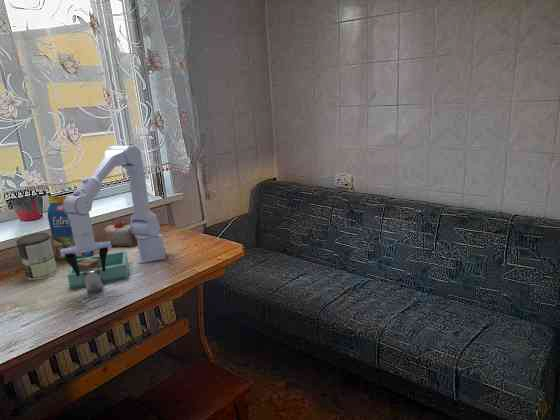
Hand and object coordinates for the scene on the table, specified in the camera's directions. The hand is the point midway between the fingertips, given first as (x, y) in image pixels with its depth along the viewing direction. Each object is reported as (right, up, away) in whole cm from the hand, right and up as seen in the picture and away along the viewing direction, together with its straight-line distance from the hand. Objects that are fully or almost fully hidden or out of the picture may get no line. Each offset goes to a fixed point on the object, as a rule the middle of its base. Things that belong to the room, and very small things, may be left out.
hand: (91, 272), depth 134 cm
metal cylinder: (0, -6, +2) cm, 6 cm away
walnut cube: (-6, -2, +12) cm, 13 cm away
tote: (-2, -3, +13) cm, 14 cm away
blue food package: (-21, +1, +32) cm, 38 cm away
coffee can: (-26, -3, +18) cm, 32 cm away
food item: (-5, +6, +43) cm, 43 cm away
